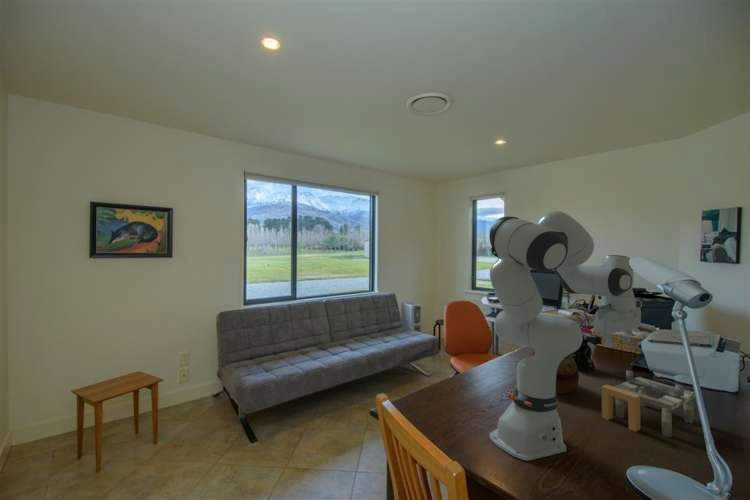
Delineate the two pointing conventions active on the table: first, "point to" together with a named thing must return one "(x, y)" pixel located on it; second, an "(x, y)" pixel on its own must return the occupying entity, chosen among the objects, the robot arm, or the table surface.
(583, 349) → the movie camera
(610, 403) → the wooden mini bench
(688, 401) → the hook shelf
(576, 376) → the ceramic pitcher
